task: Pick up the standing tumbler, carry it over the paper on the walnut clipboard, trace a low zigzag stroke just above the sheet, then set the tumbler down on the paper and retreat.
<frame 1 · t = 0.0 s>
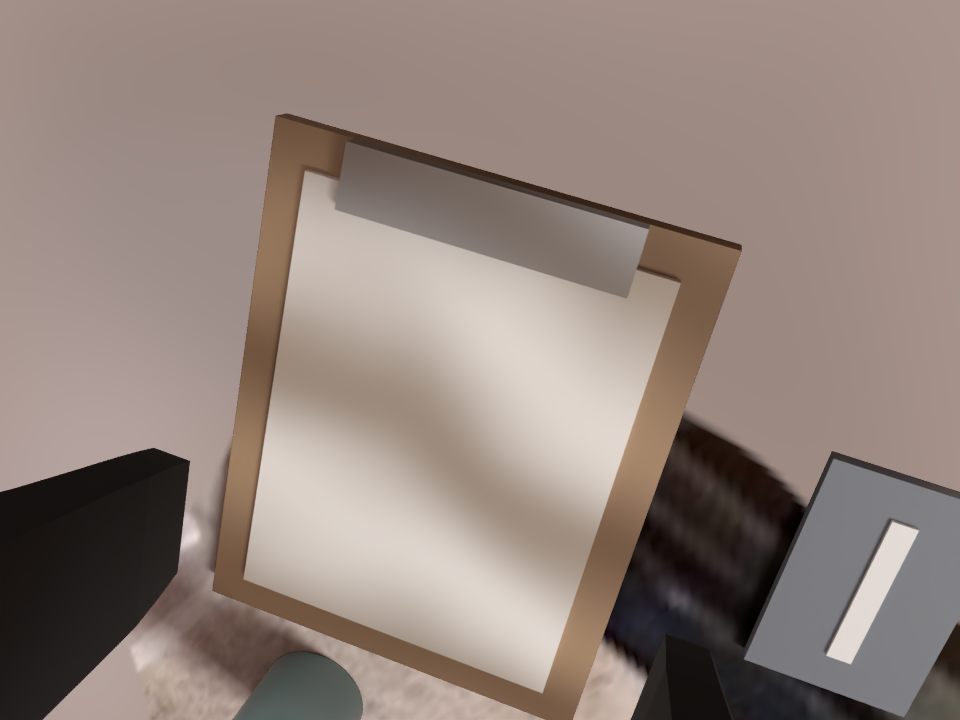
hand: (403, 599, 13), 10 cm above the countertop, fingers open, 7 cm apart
tumbler: (314, 695, 28), on the countertop
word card: (868, 583, 22), on the countertop
clipboard: (441, 438, 23), on the countertop
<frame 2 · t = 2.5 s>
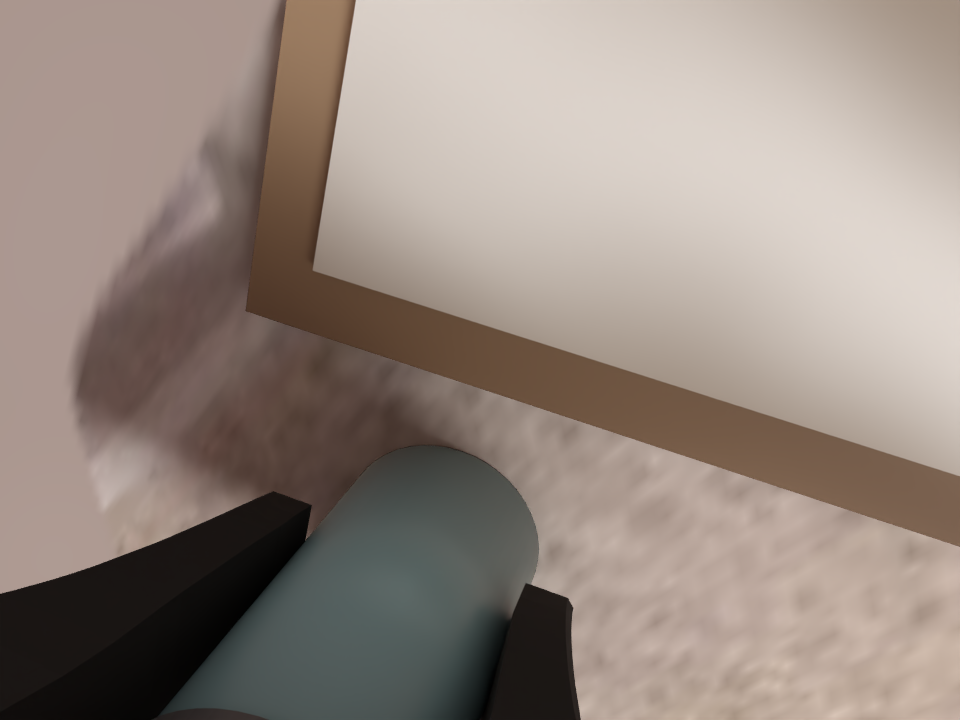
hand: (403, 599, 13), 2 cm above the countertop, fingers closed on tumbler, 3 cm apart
tumbler: (440, 537, 14), on the countertop, touching gripper
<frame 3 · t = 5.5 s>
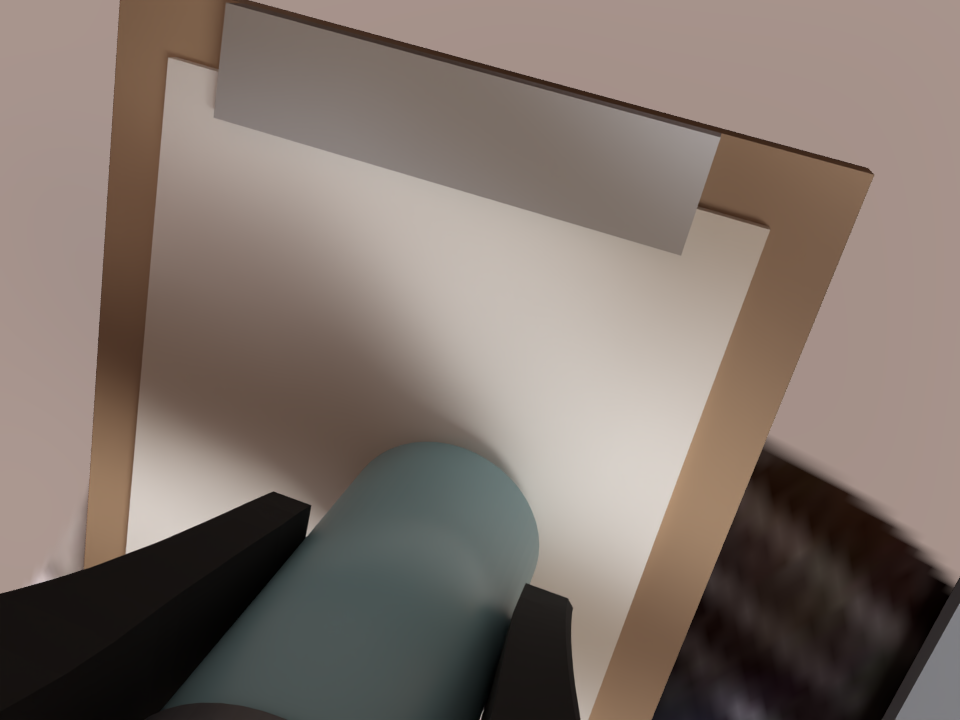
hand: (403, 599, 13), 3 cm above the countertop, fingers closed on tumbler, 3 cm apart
tumbler: (440, 533, 14), point 1 cm above the countertop, touching gripper
clipboard: (392, 473, 16), on the countertop
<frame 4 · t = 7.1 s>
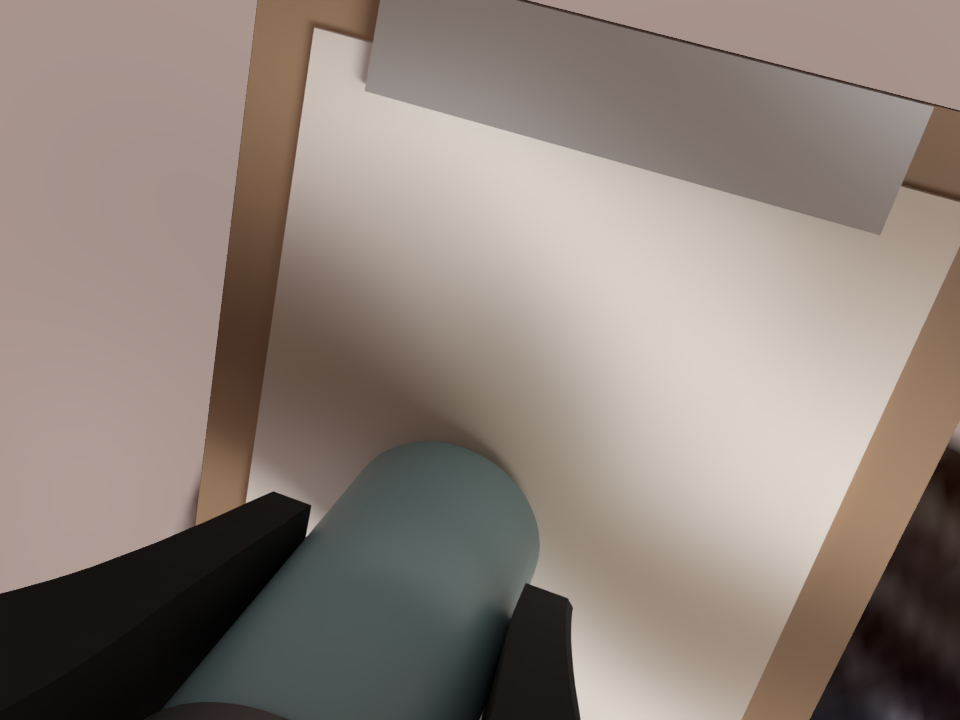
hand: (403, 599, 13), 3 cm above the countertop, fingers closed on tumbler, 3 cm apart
tumbler: (441, 532, 14), point 1 cm above the countertop, touching gripper
clipboard: (527, 469, 15), on the countertop
when the fingers open (3 cm above the countertop, at t = 8.6 s): tumbler stays where it is, resting on clipboard.
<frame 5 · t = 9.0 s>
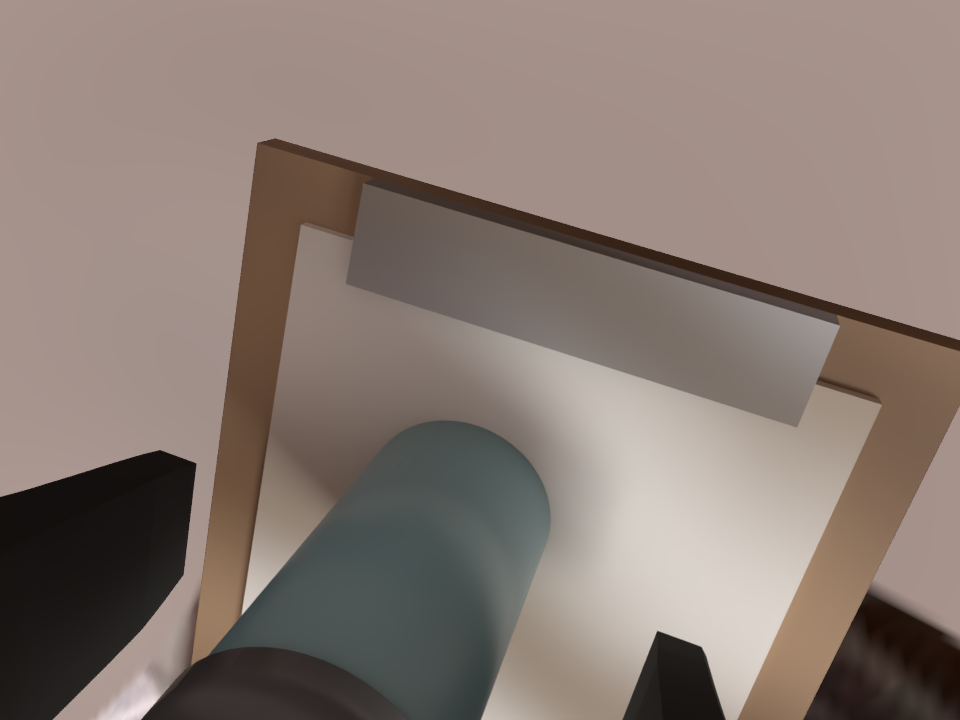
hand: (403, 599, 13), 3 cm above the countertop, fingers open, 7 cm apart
tumbler: (456, 508, 15), point 1 cm above the countertop, touching clipboard
clipboard: (496, 596, 16), on the countertop
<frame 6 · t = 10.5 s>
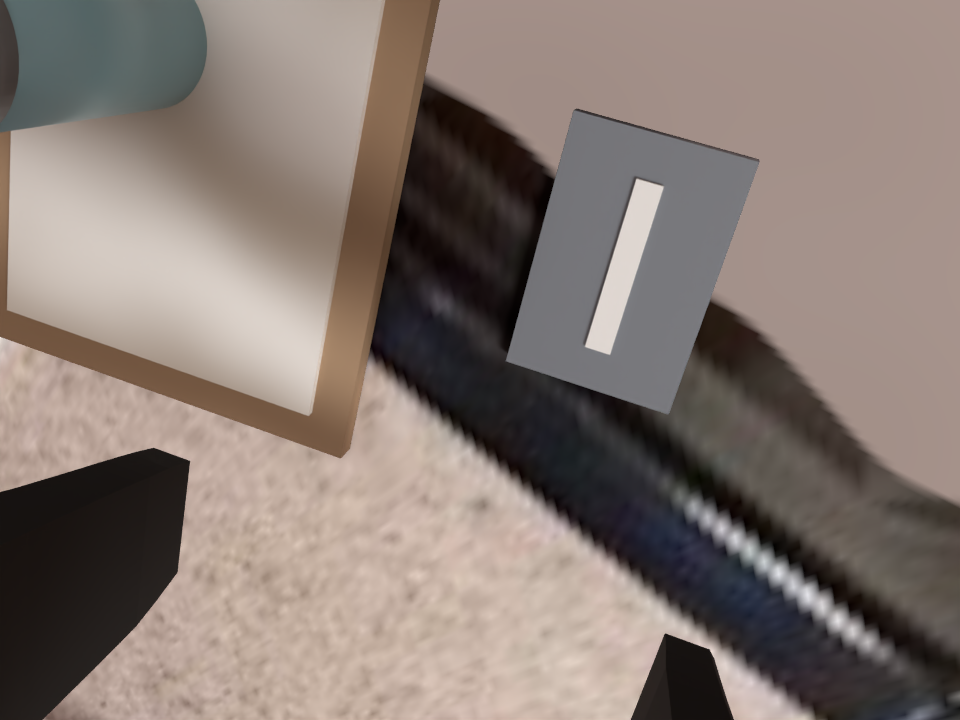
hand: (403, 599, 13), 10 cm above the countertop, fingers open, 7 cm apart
tumbler: (144, 37, 21), point 1 cm above the countertop, touching clipboard
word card: (625, 264, 20), on the countertop
clipboard: (193, 133, 22), on the countertop
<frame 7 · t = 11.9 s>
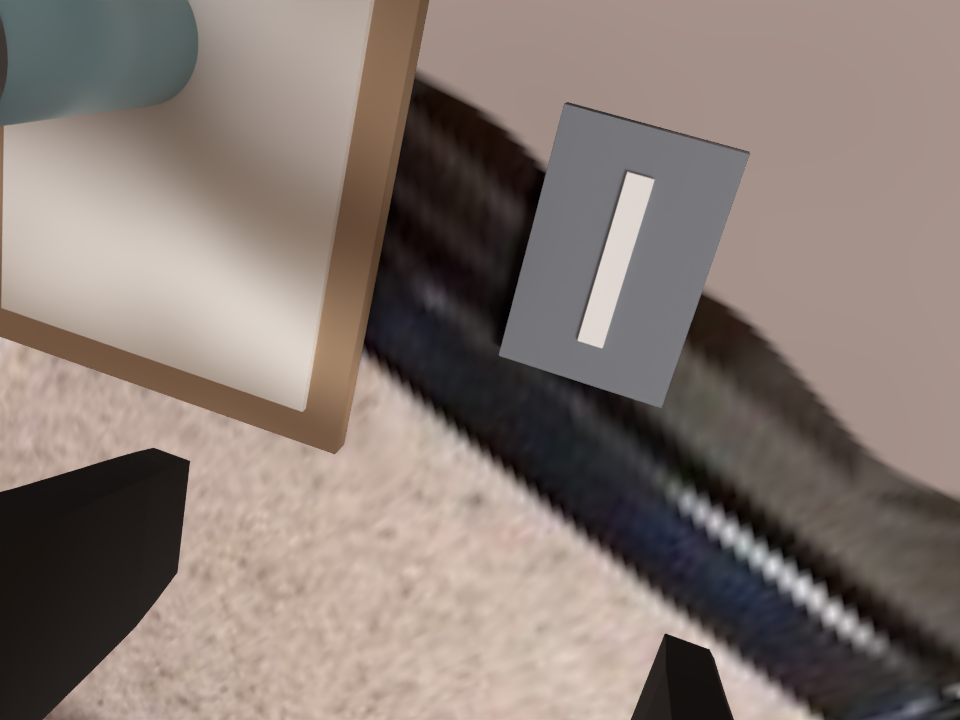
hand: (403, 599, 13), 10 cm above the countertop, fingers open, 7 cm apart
tumbler: (136, 33, 21), point 1 cm above the countertop, touching clipboard
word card: (617, 258, 20), on the countertop
clipboard: (185, 129, 22), on the countertop
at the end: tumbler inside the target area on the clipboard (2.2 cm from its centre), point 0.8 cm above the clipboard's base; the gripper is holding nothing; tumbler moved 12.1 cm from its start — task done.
